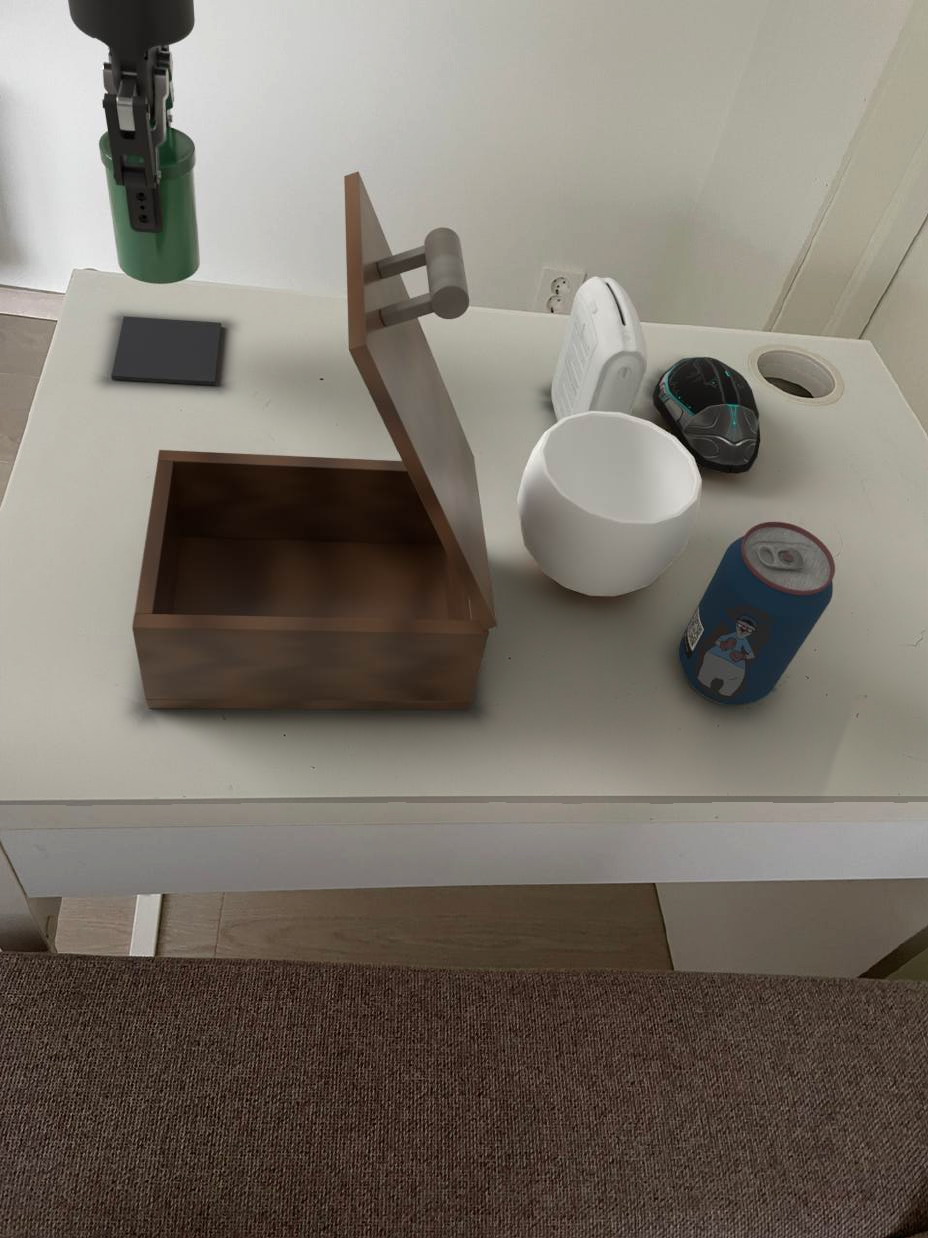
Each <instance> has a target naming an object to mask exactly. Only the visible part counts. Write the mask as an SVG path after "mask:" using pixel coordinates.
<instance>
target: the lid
mask: <svg viewBox="0 0 928 1238" xmlns="http://www.w3.org/2000/svg"><path fill="white" fill-rule="evenodd" d="M343 180H344V217H345V218H344V219H345V221H344V222H345V223H344V224H345V258H346V259H345V260H346V261H345V263H346V295H347V299H346V300H347V301H346V302H347V334H348V336H347V338H348V339H347V340H348V351H349V354H350V356H351V358H352V360H353V362H354V365H355V367H356V368H357V370H358V373H359V375H360V377H361V379H362V381H363V383H364V385H365V387H366V389H367V392H368V394H369V396H370V397H371V399H372V402H373V403H374V405H375V407H376V410H377V412H378V414H379V417H380V418H381V420H382V422H383V424H384V427H385V428H386V431H387V432H388V435H389V436H390V439H391V441H392V443H393V445H394V447H395V449H396V451H397V453H398V456H399V457H400V460H401V461H403V463H404V465H405V468H406V470H407V472H408V474H409V476H410V478H411V480H412V482H413V484H414V486H415V488H416V490H417V492H418V494H419V496H420V499H421V501H422V503H423V505H424V507H425V509H426V511H427V513H428V515H429V517H430V519H431V521H432V523H433V525H434V527H435V529H436V532H437V534H438V536H439V538H440V540H441V542H442V544H443V546H444V548H445V550H446V552H447V554H448V556H449V558H450V560H451V563H452V565H453V567H454V569H455V571H456V573H457V575H458V577H459V579H460V581H461V583H462V585H463V587H464V589H465V591H466V594H467V596H468V598H469V600H470V602H471V604H472V606H473V608H474V610H475V612H476V614H477V616H478V618H479V620H480V622H481V625H482V627H483V629H484V630H488V629H489V630H491V629H495V628H498V622H497V615H496V607H495V600H494V593H493V586H492V578H491V571H490V565H489V563H490V562H489V558H488V557H489V556H488V549H487V541H486V536H485V528H484V521H483V513H482V506H481V505H482V504H481V497H480V491H479V483H478V476H477V469H476V461H475V456H474V454H473V451H472V448H471V446H470V444H469V441H468V439H467V436H466V433H465V432H464V431H465V430H464V429H463V426H462V424H461V422H460V418H459V416H458V414H457V412H456V408H455V406H454V404H453V401H452V399H451V397H450V394H449V391H448V388H447V386H446V384H445V382H444V379H443V377H442V374H441V372H440V369H439V367H438V364H437V362H436V359H435V357H434V354H433V352H432V350H431V348H430V345H429V342H428V340H427V337H426V335H425V332H424V330H423V327H422V324H421V322H420V320H419V318H421V317H424V316H427V315H431V314H433V313H434V314H435V315H436V316H437V317H439V318H441V319H443V320H455V319H457V318H460V317H461V316H463V315H464V314H465V313H466V312H467V311H468V308H469V306H470V296H469V289H468V283H467V277H466V269H465V263H464V257H463V250H462V244H461V239H460V237H459V235H458V234H457V232H456V231H455V230H453V229H451V228H449V227H443V226H442V227H437V228H434V229H432V230H431V231H429V232H428V234H427V235H426V236H425V238H424V241H423V245H421V246H417V247H414V248H412V249H408V250H406V251H403V252H400V253H396V254H393V252H392V251H391V248H390V246H389V243H388V241H387V238H386V236H385V233H384V231H383V228H382V225H381V222H380V221H379V218H378V215H377V213H376V210H375V207H374V205H373V204H372V201H371V198H370V196H369V193H368V191H367V188H366V186H365V184H364V181H363V178H362V176H361V174H360V172H359V171H355V172H352V173H350V174H346V175H344V179H343ZM422 267H426V276H427V285H428V292H427V293H423V294H420V295H417V296H414V297H410V295H409V292H408V290H407V287H406V285H405V283H404V280H403V278H402V275H401V274H403V273H407V272H410V271H413V270H416V269H419V268H422Z"/></svg>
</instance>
